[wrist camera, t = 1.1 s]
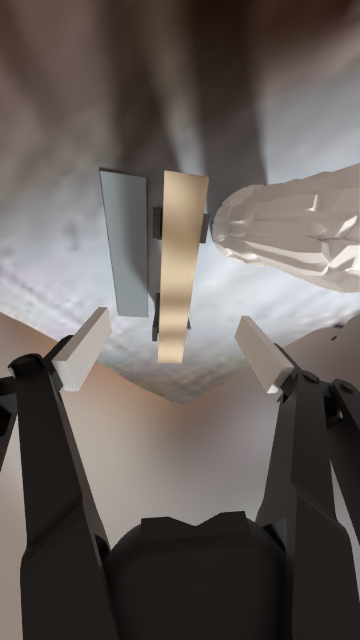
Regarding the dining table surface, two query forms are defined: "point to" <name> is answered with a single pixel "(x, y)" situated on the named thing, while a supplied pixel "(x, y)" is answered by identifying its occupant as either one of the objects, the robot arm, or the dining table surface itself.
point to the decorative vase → (297, 228)
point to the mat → (127, 240)
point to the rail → (179, 258)
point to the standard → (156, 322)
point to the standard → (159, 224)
